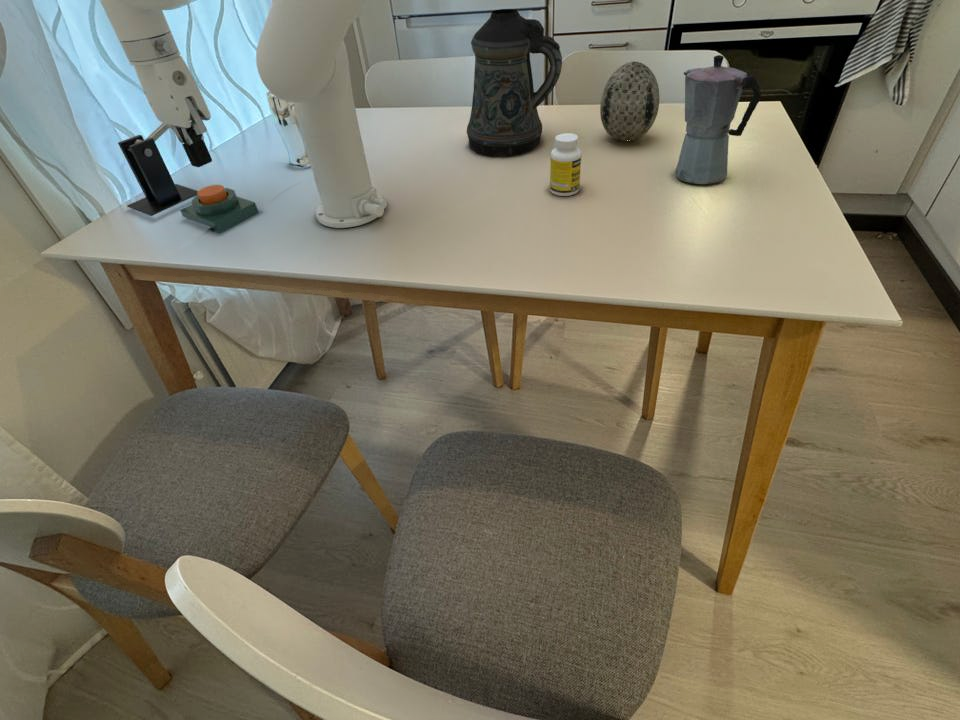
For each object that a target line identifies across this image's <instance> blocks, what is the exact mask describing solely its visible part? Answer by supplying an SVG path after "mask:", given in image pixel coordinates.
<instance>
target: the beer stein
mask: <svg viewBox="0 0 960 720" xmlns="http://www.w3.org/2000/svg"><path fill="white" fill-rule="evenodd" d="M470 45H471V49H472V52H473V53H474V73H473V74H474V75H473V91H472V102H471V109H470V116H469V120H468V123H467V126H466V134H467V139H468V147H469V148H468V149H470V150H471V151H473V152H474V153H476V154H477V155H480V156H485V157H490V158H510V157H515V156H517V157H518V156H521V155H524V154H527V153H530V152H532V151H534V150H536V148H538V147H539V146H540V142H541V138H542V134H543V123H542V120H541V118H540V115H539V111H538V107H539V106H540V105H541V104H542V103H543V102H544V101H545V100H546V99H547V97H548V96H549V95H550V94H551V92H552V91H553V90H554V88H555V87H556V85H557V83H558V81H559V78H560V76H561V72H562V68H563V56H562V55H563V54H562V52H561V47H560V44H559V43H558V42H557V41H556V40H555V39H554V38H553V37H552V36H549V35H545V28H544V26H543V25H542V23H541V22H540V21H539V20H537V19H534V18H533V19H532V18H525V17H523V16H522V15H521V14H520V13H519V11H518V9H513V8H501V9H495V10H492V11H491V13H490V17H489V18H488V19H487V20H486V21H485V22H484V23H483V24H482V26H481V27H480V28H479V29H478V30H477V31H476V32H475V33H474V35H473V37H472V39H471V41H470ZM531 54H532V55H533V54H535V55H536V54H542V55H543V56H546V58H547V60H548V63H549V70H548V72H547V75H546V77H545V79H544V81H543V83H542V84H541V86H539V88H538V89H537V90H536V91H535V89H534V79H533V78H534V77H533V71H532V63H531Z"/></svg>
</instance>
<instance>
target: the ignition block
mask: <svg viewBox="0 0 960 720" xmlns="http://www.w3.org/2000/svg"><path fill="white" fill-rule="evenodd" d="M224 188H225V191H226V193H227V197H226V199H224V200H222V201H220V202H216V203H212V204H202V203H201V201H200V199H199V197H198V195H196V196H194V198H193V199H191V204H190V205H187V206H186V207H184V208H181V209H180V213H181V215H182V217H184V218H186V219H189V220H191V221H195V222H197V223H199V224H202V225H204V226H207V227H210V228H208V229H207V230H208V231H210V232H213V233H215V234H218V235H220V234H221V233H223V232H226V231H227V230H229V229H230V228H233V227H235V226H237V225H239V224H240V223H242V222H244V221H246V220H248V219H250V218H252V217H254V216H255V215H258V214H259V209H258V207H257V205H256V202H255V201H252V200H249V199H246V198H243V197H240V196H237V194H236V191H235V189H231V188H228V187H224Z"/></svg>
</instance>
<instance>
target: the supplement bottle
mask: <svg viewBox="0 0 960 720" xmlns="http://www.w3.org/2000/svg"><path fill="white" fill-rule="evenodd" d="M554 146H555V147H554V148H553V149H552V150H551V152H550V167H549V168H550V169H549V170H550V173H549V190H550V193H552V194H553V195H555V196H560V197H569V196H574V195H575V194H577V193H578V192H579V190H580V185H581V184H580V183H581V170H582V169H581V168H582V166H581V165H582V150H581V149H580V148H579V147H578V146H579V136H578V135H577V134H576V133H570V132H569V133H568V132H565V133H559V134H557V135H556V136H555V138H554Z"/></svg>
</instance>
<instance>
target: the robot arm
mask: <svg viewBox="0 0 960 720" xmlns="http://www.w3.org/2000/svg"><path fill="white" fill-rule="evenodd" d="M195 1H197V0H99V2H100V4H101V6H102V8H103V10H104V12H105V14H106V16H107V19H108V21H109V22H110V25H111V26H112V30H113V31H114V33H115V35H116V37H117V40H118V41H119V43H120V45H121V48H122V50H123V52H124V54H125V56H126V58H127V60H128V62H129V64H130V66H133V67H134V70H135V73H136V76H137V78H138V80H139V83H140V85H141V88H142V90H143V93H144V95H145V97H146V99H147V101H148V104H149V106H150V108H151V111H152V112H153V113H154V116H155V118H156V119H157V120H158V121H159V122H160V123H166V125H167V126H168V127H169V129H171V130H172V131H173V132H174V135H175V136H176V138H177V140H178V141H179V142H180V143H181V146H182V147H183V151H184V152H185V154H186V156H187V158H188V160H189V162H190V165H191V166H192V167H195V168H201V167H203V166H205V165H207V164H210V163H212V162H213V158H212V156H211V154H210V151H209V149H208V147H207V145H206V142H205V137H204V133H207V132H208V128H207V126H206V125H205V122H204V121H207V122H208V121H210V120H211V118H212V115H211V111H210V109H209V107H208V105H207V103H206V100H205V98H204V96H203V93H202V91H201V90H200V87H199V86H198V84H197V82H196V79H195V78H194V76H193V74H192V72H191V70H190V68H189V67H188V65H187V63H186V61H185V60H184V58H183V57H182V56H181V52H180V49H179V47H178V45H177V42H176V40H175V38H174V35H173V33H172V30H171V28H170V25H169V24H168V20H167V19H166V16H165V14H164V12H163V11H172V10H176V9H179V8H182V7H184V6H187V5H189V4H190V3H193V2H195ZM369 2H370V0H272V2H271V5H270V9H269V11H268V13H267V17H266V19H265V22H264V24H263V28H262V30H261V34H260V35H259V39H258V43H257V45H256V46H257V47H256V53H255V63H256V69H257V72H258V73H257V74H258V75H259V78H260V79H261V82H262V83H263V85H264V87H265V88H266V89H267V91H268V92H269V91H270V92H271V93H272V94H273V95H274V96H276V97H277V98H279V99H281V100H283V101H286V102H290V103H294V105H295V110H296V114H297V119H298V122H299V126H300V129H301V134H302V137H303V141H304V144H305V147H306V151H307V154H308V158H309V161H310V165H311V167H310V169H311V171H312V174H313V179H314V181H315V186H316V188H317V192H318V195H319V198H320V204H319V205H318V207H317V208H316V209H315V216H316V219H317V221H318V223H320V224H321V225H323V226H325V227H328V228H334V229H345V228H347V229H348V228H352V227H358V226H359V227H360V226H362V225H365V224H368V223H370V222H373V221H375V220H376V219H377V218H380V217H382V216H383V215H384V213H385V208H387V206H388V200H386V199H384V198H383V197H382V196H381V195H379V194H378V192H377V187H374V186H373V184H372V180H371V175H370V171H369V166H368V162H367V157H366V152H365V147H364V144H363V143H364V142H363V139H362V134H361V129H360V125H359V119H358V115H357V110H356V105H355V100H354V93H353V89H352V81H351V71H350V63H349V55H348V49H347V46H346V43H345V40H344V39H345V37H346V35H347V33H348V31H349V29H350V27H351V25H352V23H353V22H355V21H356V20H357V19H358V18H360V17H361V15H362V14H363V13H364V12H365V10H366V9H367V7H368V5H369Z"/></svg>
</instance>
